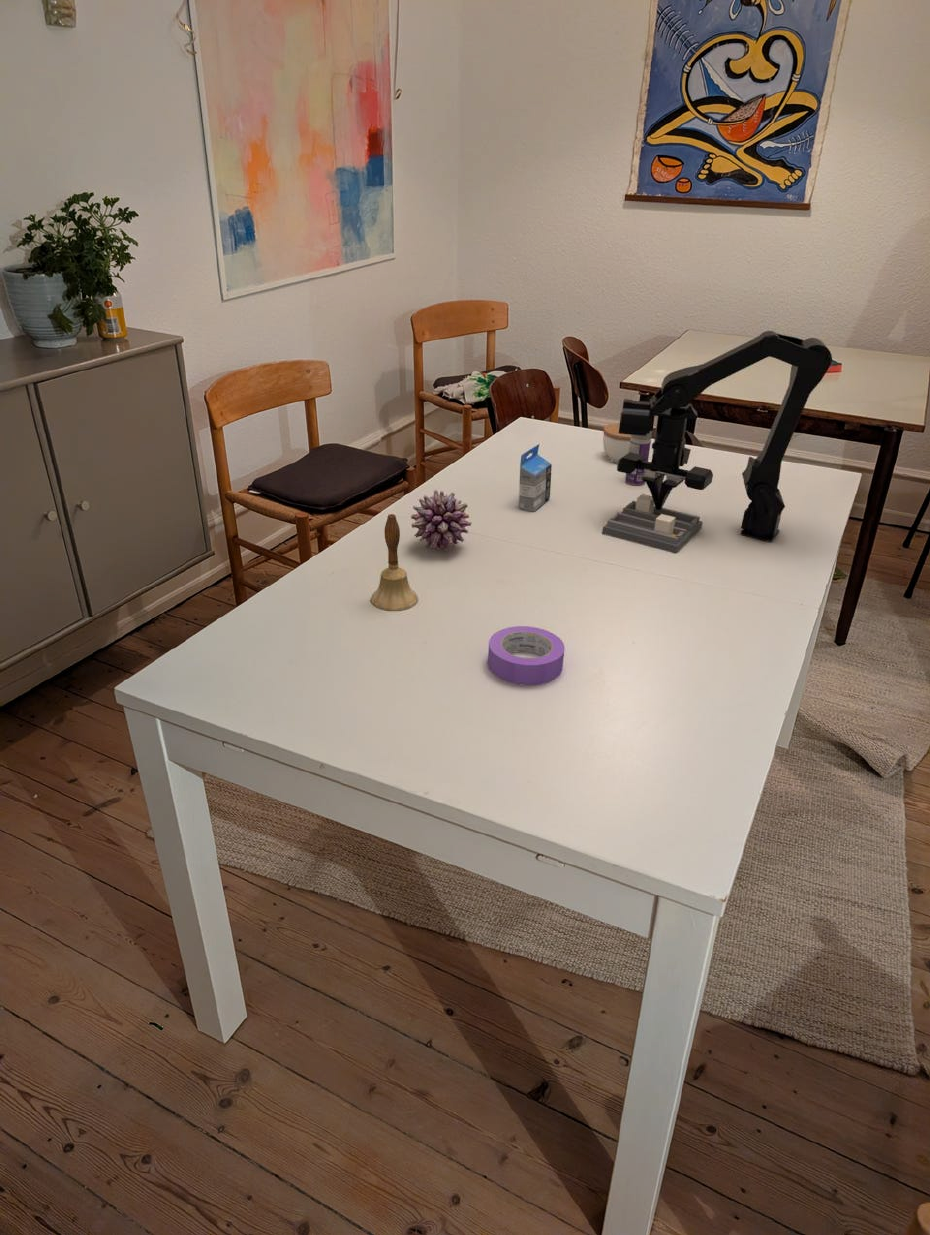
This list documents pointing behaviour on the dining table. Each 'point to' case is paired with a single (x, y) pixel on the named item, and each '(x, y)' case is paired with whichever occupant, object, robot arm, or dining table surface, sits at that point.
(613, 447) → the lidded jar
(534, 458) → the label tape box
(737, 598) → the dining table surface
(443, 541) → the flower
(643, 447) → the container
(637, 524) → the switch bank
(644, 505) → the beige rectangular block
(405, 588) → the hand bell
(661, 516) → the tab
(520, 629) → the masking tape
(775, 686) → the dining table surface
